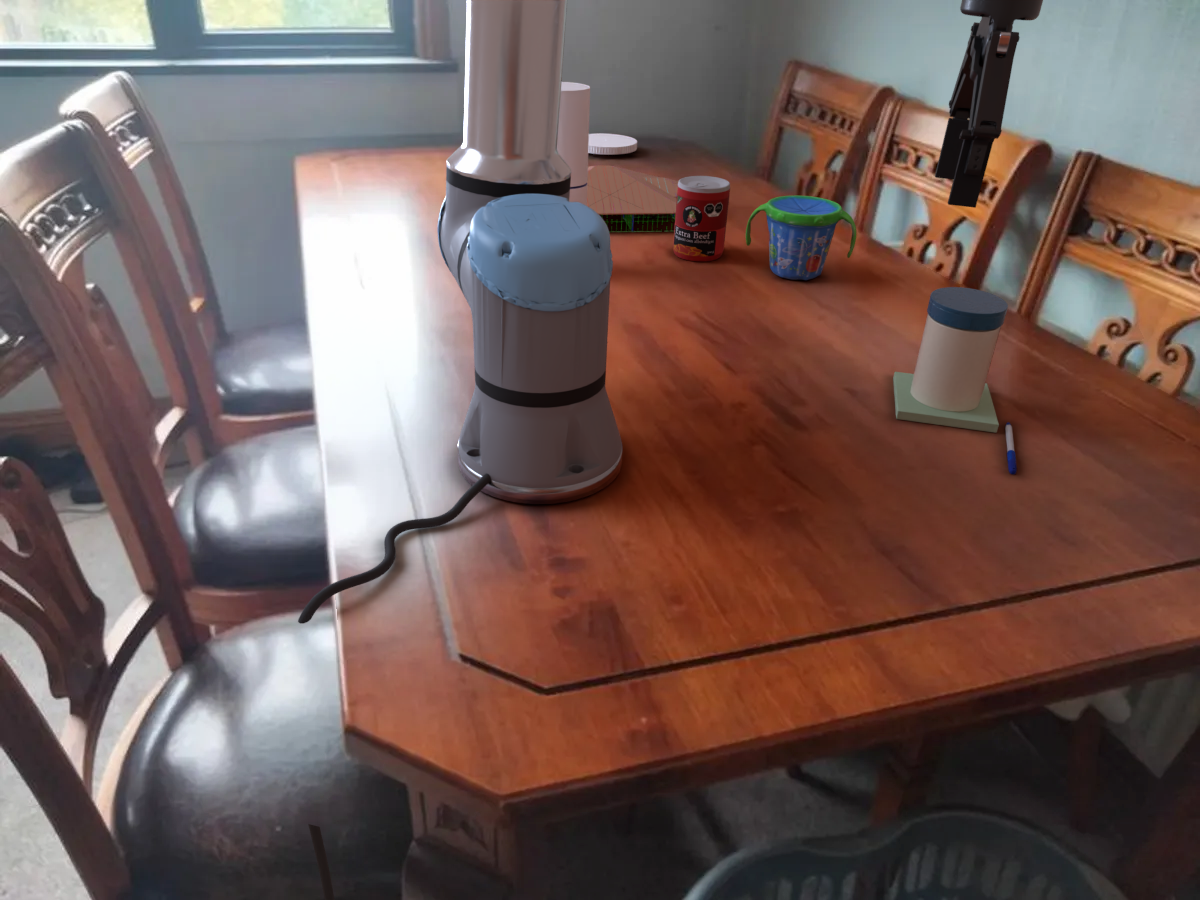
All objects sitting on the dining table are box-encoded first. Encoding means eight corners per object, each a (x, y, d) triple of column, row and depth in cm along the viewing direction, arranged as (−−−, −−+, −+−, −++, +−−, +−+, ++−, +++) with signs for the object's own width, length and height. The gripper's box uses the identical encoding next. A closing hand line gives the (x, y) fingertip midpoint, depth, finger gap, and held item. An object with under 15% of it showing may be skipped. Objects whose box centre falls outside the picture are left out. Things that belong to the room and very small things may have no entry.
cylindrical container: (578, 280, 128) (583, 92, 115) (529, 275, 129) (529, 88, 116) (589, 264, 134) (595, 83, 121) (542, 259, 135) (543, 80, 122)
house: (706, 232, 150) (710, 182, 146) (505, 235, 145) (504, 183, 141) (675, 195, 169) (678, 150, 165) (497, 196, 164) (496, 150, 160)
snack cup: (733, 275, 132) (741, 205, 127) (752, 254, 140) (761, 188, 135) (840, 294, 127) (853, 222, 122) (854, 271, 135) (867, 203, 130)
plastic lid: (608, 142, 207) (609, 131, 206) (649, 154, 198) (650, 142, 197) (559, 149, 199) (560, 137, 198) (600, 162, 190) (600, 150, 189)
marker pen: (1018, 477, 86) (1020, 468, 86) (1008, 475, 86) (1010, 466, 86) (1010, 427, 95) (1012, 418, 94) (1001, 425, 95) (1003, 417, 94)
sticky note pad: (996, 433, 93) (999, 424, 93) (896, 419, 95) (897, 410, 94) (985, 391, 101) (987, 383, 101) (892, 379, 103) (894, 371, 103)
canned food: (664, 256, 138) (669, 183, 133) (685, 243, 144) (690, 172, 139) (711, 265, 135) (718, 191, 130) (730, 251, 141) (738, 180, 136)
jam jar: (983, 416, 94) (1010, 321, 89) (911, 406, 95) (933, 312, 90) (975, 386, 100) (1000, 296, 95) (908, 377, 101) (928, 288, 96)
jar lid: (1008, 335, 89) (1013, 317, 88) (929, 325, 91) (933, 308, 90) (998, 308, 96) (1002, 291, 95) (924, 299, 97) (928, 283, 96)
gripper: (1078, -22, 78) (1008, 223, 88) (1025, -26, 100) (974, 172, 110) (987, -29, 79) (929, 214, 90) (954, -31, 101) (910, 165, 111)
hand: (953, 191), depth 100 cm, fingers open, 13 cm apart
